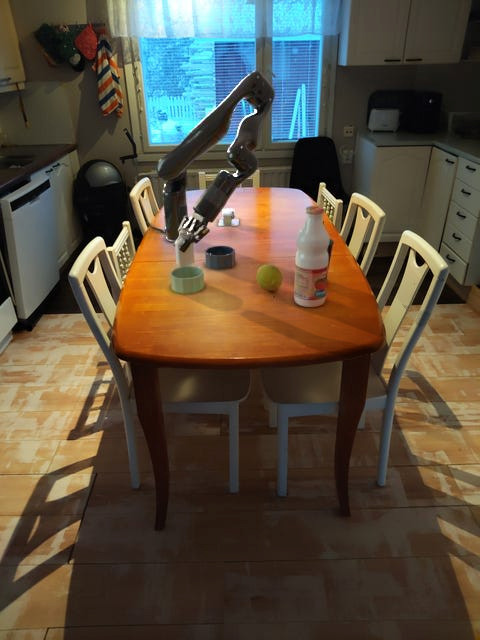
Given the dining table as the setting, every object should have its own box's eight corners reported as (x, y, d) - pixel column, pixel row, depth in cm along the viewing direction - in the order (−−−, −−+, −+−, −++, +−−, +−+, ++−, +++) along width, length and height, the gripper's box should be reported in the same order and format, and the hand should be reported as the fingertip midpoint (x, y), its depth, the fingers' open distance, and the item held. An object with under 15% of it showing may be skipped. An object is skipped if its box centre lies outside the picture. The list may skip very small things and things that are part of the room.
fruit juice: (297, 292, 143) (301, 202, 129) (327, 295, 140) (334, 204, 127) (290, 305, 135) (294, 211, 122) (322, 309, 133) (330, 214, 119)
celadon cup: (166, 285, 149) (164, 271, 147) (193, 277, 155) (192, 263, 152) (182, 296, 142) (181, 281, 140) (210, 287, 147) (209, 273, 145)
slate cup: (200, 263, 166) (199, 250, 163) (223, 256, 171) (223, 243, 168) (216, 272, 158) (216, 258, 156) (240, 264, 164) (240, 251, 161)
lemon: (285, 295, 141) (286, 271, 138) (260, 297, 140) (260, 273, 136) (277, 280, 151) (277, 258, 147) (253, 283, 150) (253, 260, 146)
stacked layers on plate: (238, 225, 203) (237, 213, 200) (217, 225, 203) (217, 213, 200) (238, 218, 212) (238, 207, 209) (219, 219, 212) (218, 207, 209)
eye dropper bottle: (176, 262, 146) (173, 225, 140) (194, 260, 147) (191, 224, 141) (176, 267, 143) (173, 230, 137) (195, 266, 143) (192, 228, 137)
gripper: (230, 216, 138) (197, 262, 138) (208, 205, 148) (177, 248, 149) (214, 201, 133) (179, 249, 133) (192, 191, 143) (160, 236, 144)
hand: (178, 248), depth 141 cm, fingers closed on eye dropper bottle, 3 cm apart
